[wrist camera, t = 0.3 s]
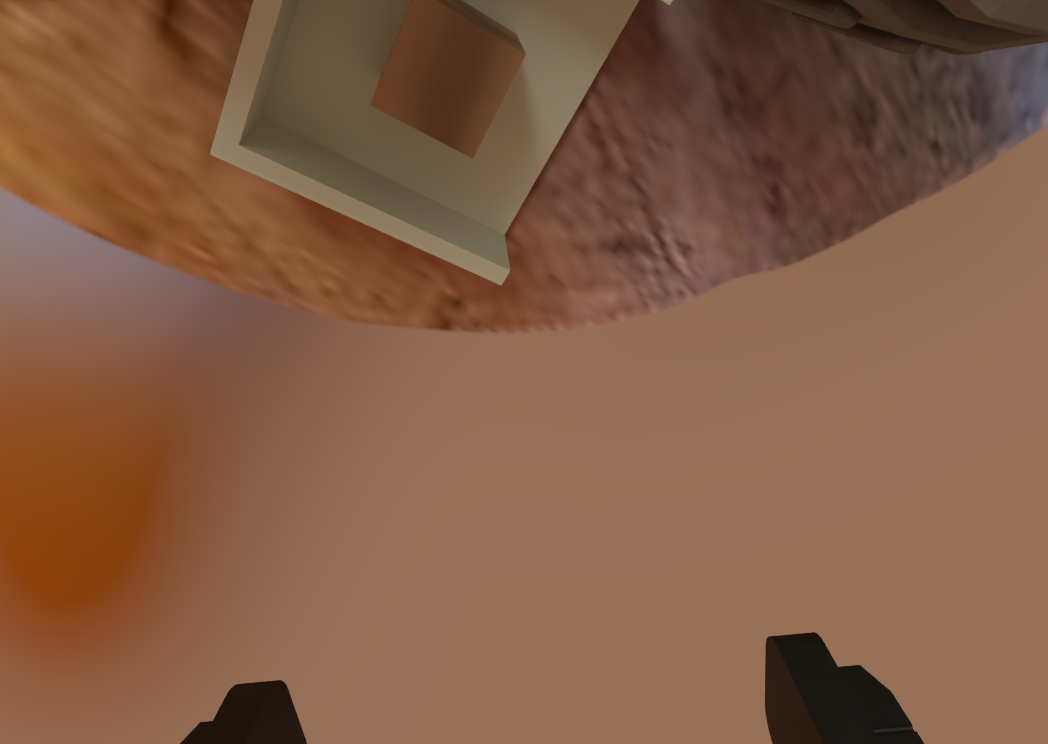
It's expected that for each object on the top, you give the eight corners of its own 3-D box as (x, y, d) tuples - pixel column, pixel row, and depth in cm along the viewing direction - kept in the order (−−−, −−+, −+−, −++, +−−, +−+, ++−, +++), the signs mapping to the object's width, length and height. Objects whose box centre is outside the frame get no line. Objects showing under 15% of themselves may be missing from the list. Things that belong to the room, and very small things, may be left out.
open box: (239, 122, 33) (209, 154, 29) (350, -249, 25) (331, -276, 21) (496, 244, 38) (501, 285, 34) (653, -31, 30) (684, -19, 26)
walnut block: (380, 78, 32) (369, 105, 28) (421, -25, 29) (416, -12, 25) (470, 127, 34) (473, 158, 30) (516, 33, 31) (526, 54, 27)
